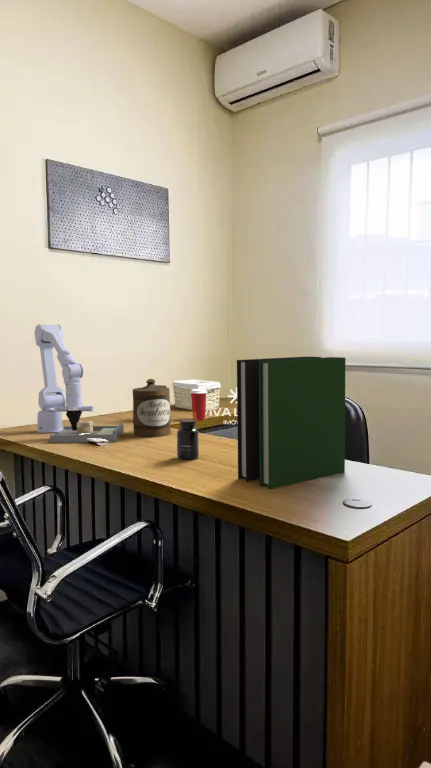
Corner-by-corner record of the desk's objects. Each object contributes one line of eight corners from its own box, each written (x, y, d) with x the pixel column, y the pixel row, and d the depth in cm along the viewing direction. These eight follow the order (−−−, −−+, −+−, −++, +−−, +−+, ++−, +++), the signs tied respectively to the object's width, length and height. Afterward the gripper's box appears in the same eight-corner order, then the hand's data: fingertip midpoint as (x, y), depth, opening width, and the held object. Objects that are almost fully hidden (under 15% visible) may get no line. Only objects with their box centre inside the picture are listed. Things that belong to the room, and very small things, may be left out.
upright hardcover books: (271, 490, 132) (270, 361, 129) (234, 477, 144) (233, 359, 141) (344, 472, 148) (345, 357, 145) (306, 462, 160) (306, 356, 157)
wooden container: (139, 438, 202) (137, 381, 201) (129, 432, 216) (127, 378, 214) (176, 435, 208) (175, 379, 207) (164, 429, 222) (162, 376, 220)
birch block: (77, 433, 203) (76, 423, 203) (80, 431, 208) (79, 421, 208) (90, 433, 203) (89, 422, 203) (93, 431, 208) (92, 421, 208)
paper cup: (210, 418, 248) (209, 389, 247) (202, 421, 241) (202, 390, 240) (195, 418, 251) (194, 388, 250) (187, 420, 244) (187, 390, 243)
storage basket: (222, 409, 281) (221, 381, 280) (197, 412, 271) (197, 383, 270) (195, 405, 300) (195, 379, 299) (171, 407, 290) (171, 381, 289)
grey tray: (50, 443, 196) (49, 432, 196) (64, 433, 216) (64, 423, 215) (115, 441, 196) (114, 431, 196) (123, 432, 216) (123, 422, 216)
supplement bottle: (182, 461, 164) (181, 422, 163) (173, 457, 170) (173, 419, 169) (202, 458, 167) (201, 421, 166) (193, 454, 173) (192, 418, 172)
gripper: (51, 396, 200) (52, 432, 202) (89, 396, 200) (91, 431, 202) (56, 394, 207) (58, 429, 209) (94, 394, 208) (95, 428, 209)
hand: (74, 430), depth 206 cm, fingers closed
